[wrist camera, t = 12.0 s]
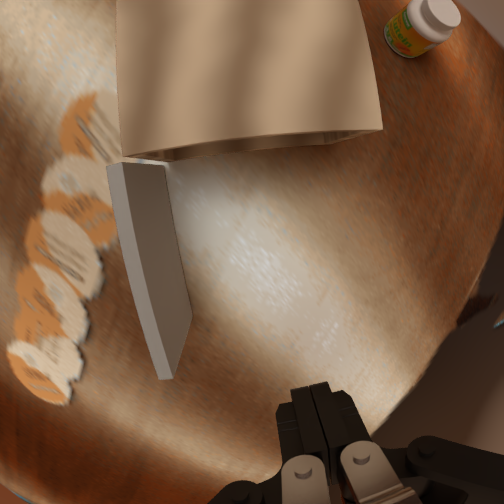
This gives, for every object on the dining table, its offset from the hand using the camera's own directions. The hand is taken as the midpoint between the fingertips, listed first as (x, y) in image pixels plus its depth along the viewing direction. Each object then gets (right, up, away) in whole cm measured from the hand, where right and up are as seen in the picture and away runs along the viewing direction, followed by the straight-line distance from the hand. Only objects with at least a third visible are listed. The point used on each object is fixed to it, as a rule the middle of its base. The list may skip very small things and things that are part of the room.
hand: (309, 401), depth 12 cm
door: (-11, +7, +21) cm, 25 cm away
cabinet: (-3, +24, +18) cm, 30 cm away
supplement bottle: (+15, +31, +17) cm, 39 cm away
